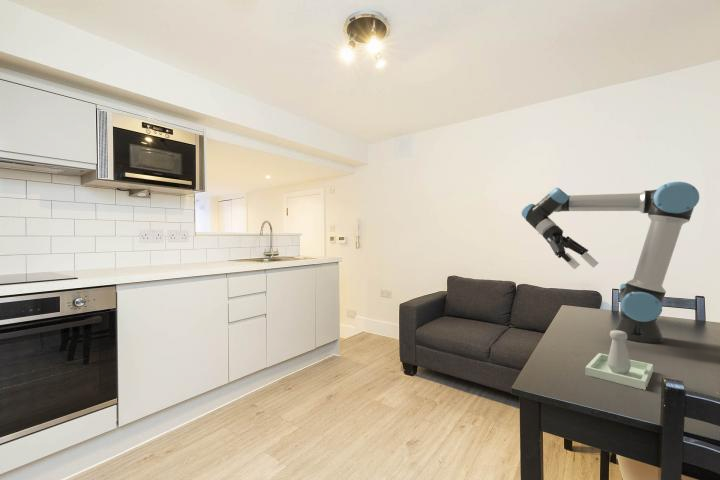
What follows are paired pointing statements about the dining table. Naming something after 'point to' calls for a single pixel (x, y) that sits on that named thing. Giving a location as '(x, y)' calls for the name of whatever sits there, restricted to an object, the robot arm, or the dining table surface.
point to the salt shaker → (618, 353)
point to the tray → (634, 378)
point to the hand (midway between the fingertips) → (586, 266)
